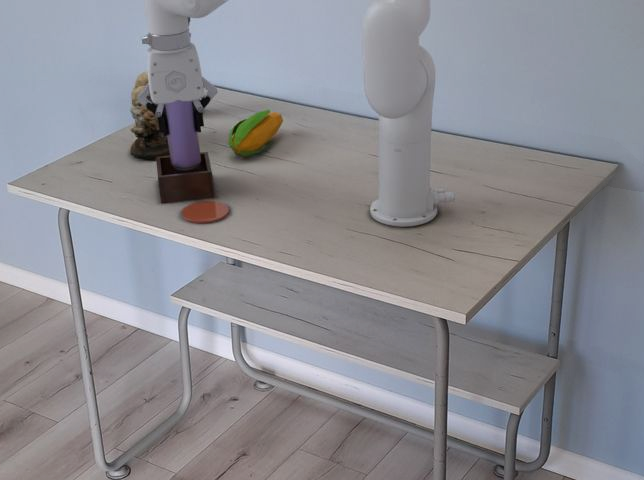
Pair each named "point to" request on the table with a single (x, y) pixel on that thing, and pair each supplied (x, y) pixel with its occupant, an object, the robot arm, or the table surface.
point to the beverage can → (182, 134)
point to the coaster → (205, 212)
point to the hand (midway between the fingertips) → (182, 131)
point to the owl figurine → (146, 126)
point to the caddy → (184, 180)
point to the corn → (254, 133)
